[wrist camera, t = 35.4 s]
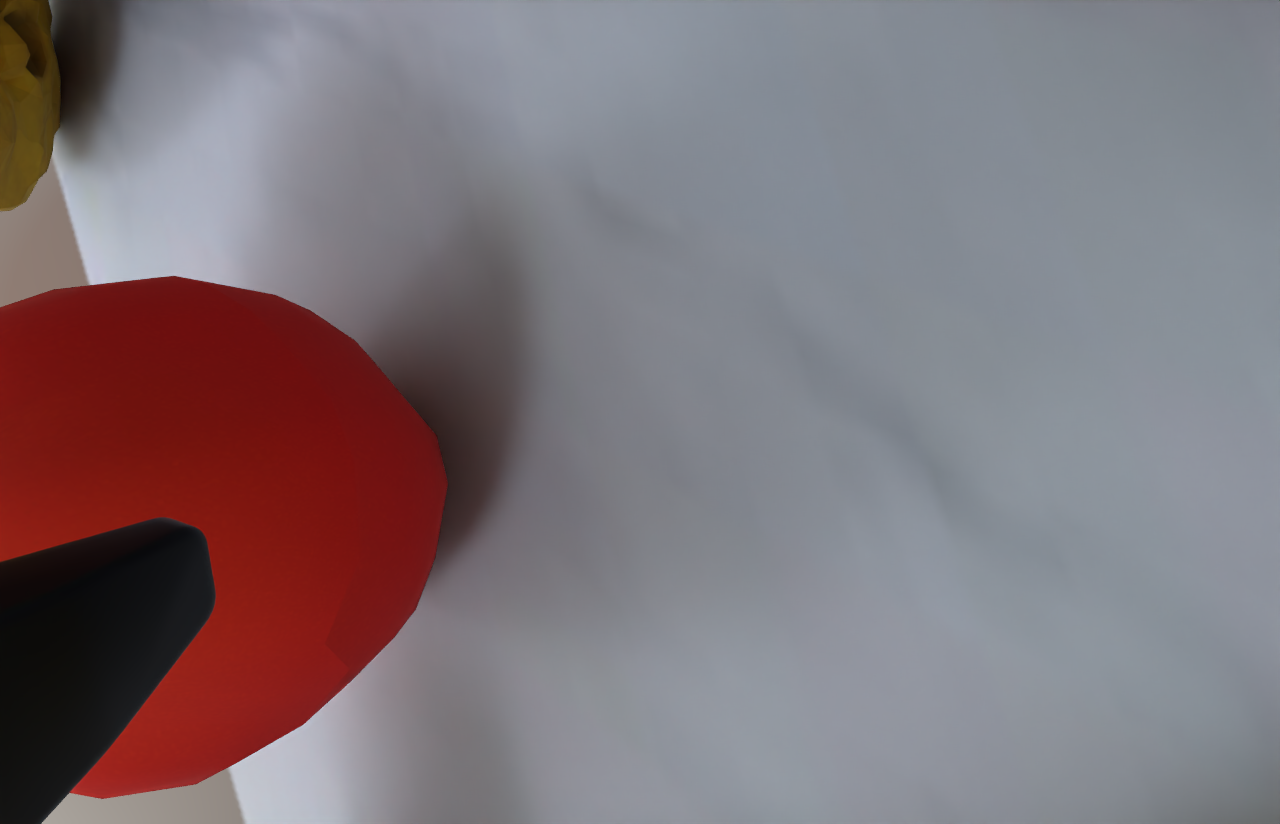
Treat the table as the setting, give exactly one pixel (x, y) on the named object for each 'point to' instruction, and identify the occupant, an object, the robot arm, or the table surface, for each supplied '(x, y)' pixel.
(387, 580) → the tomato
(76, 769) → the robot arm
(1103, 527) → the table surface
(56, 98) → the decorative skull
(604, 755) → the table surface
